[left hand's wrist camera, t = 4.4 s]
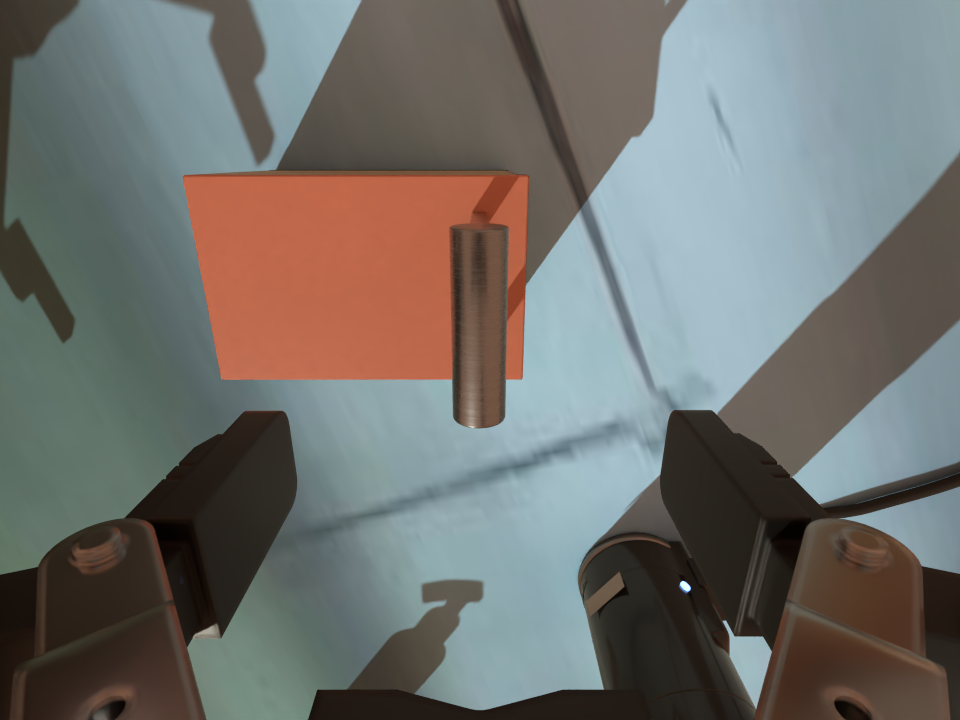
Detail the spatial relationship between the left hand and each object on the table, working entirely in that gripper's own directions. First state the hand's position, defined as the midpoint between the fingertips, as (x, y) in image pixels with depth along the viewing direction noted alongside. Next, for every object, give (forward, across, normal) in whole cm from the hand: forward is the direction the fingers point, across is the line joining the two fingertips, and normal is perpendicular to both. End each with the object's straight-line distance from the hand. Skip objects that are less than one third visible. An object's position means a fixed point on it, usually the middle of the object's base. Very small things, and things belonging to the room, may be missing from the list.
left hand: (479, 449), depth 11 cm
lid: (+17, -6, 0) cm, 17 cm away
